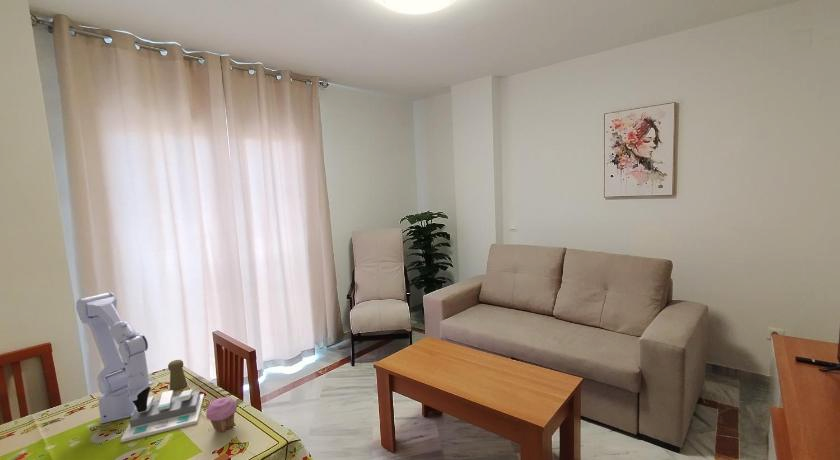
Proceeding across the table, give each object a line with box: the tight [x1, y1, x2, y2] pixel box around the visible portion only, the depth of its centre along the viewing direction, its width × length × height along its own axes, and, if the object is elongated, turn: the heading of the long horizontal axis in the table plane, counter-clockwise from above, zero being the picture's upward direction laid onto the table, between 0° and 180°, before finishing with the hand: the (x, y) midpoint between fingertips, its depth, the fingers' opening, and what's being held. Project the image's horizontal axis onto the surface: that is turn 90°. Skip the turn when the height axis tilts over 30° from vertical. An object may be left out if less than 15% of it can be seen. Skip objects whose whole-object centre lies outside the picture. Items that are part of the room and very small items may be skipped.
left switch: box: [136, 395, 155, 413], centre depth 129 cm, size 3×8×2 cm, turn 23°
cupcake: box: [205, 396, 238, 433], centre depth 123 cm, size 9×9×10 cm
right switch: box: [178, 388, 194, 402], centre depth 134 cm, size 3×8×2 cm, turn 23°
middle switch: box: [158, 390, 174, 411], centre depth 132 cm, size 3×8×2 cm, turn 24°
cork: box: [167, 359, 188, 392], centre depth 150 cm, size 6×6×11 cm
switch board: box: [120, 390, 205, 443], centre depth 130 cm, size 21×18×4 cm
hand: (142, 410), depth 126 cm, fingers closed, pressing on left switch
